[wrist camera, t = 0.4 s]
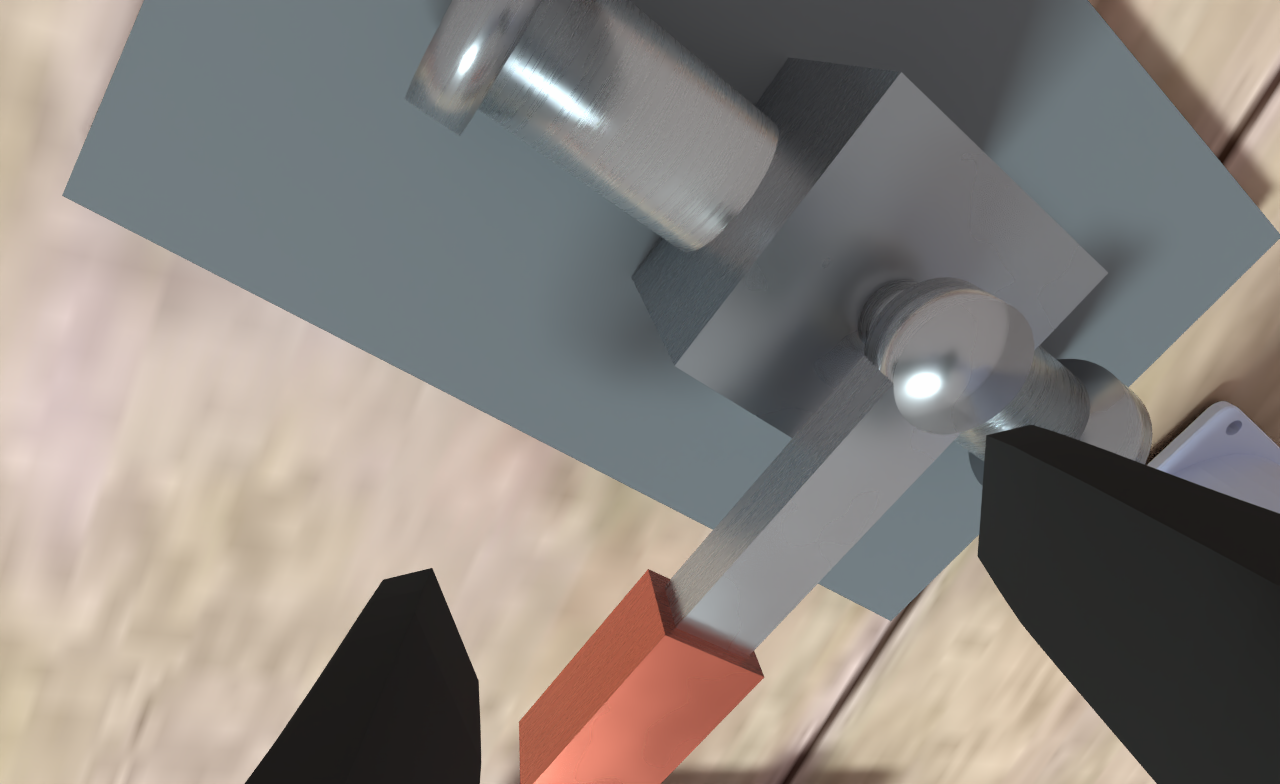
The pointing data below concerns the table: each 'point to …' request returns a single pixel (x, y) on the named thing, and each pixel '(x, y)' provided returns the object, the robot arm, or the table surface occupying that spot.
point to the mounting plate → (615, 241)
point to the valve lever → (776, 542)
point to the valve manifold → (778, 206)
